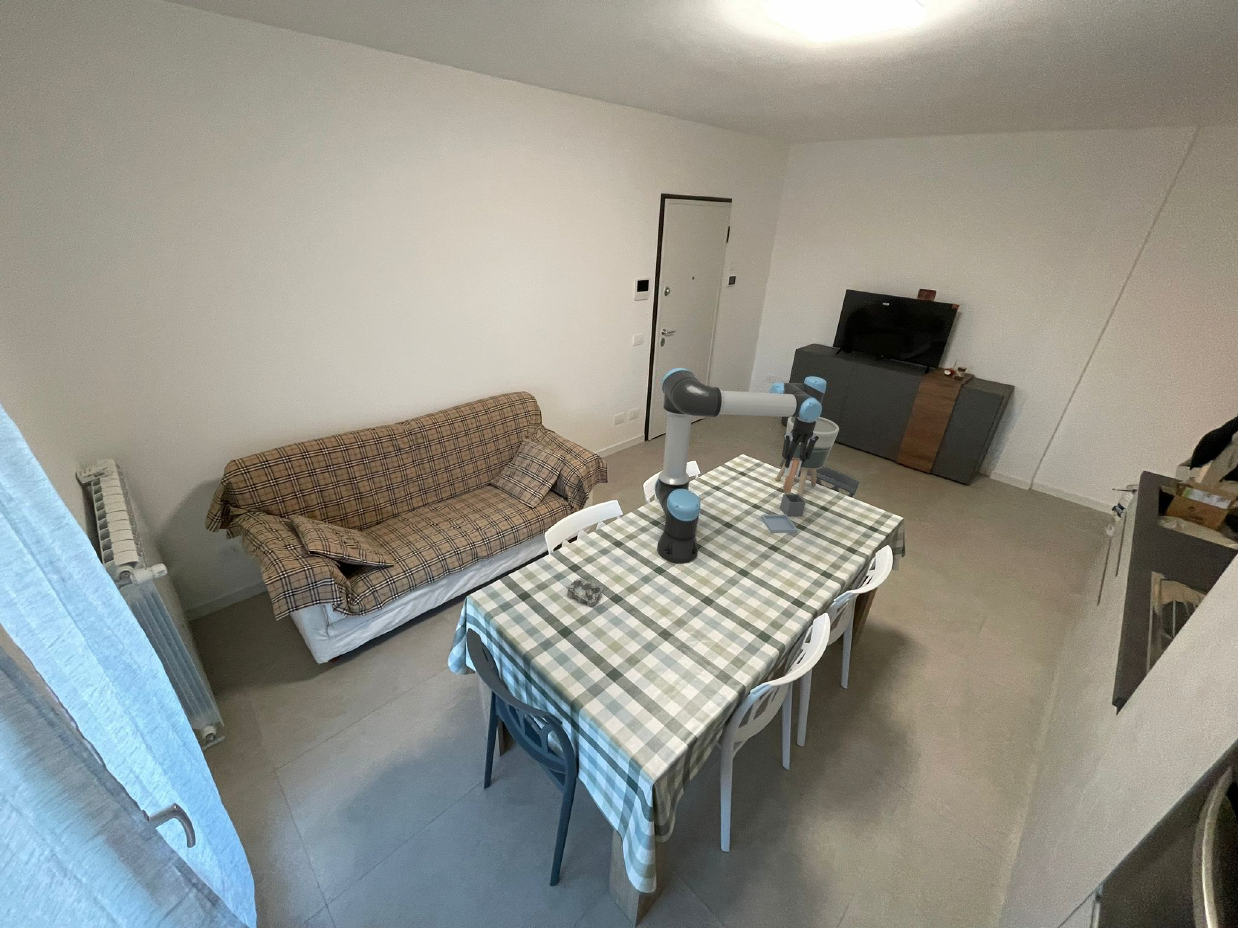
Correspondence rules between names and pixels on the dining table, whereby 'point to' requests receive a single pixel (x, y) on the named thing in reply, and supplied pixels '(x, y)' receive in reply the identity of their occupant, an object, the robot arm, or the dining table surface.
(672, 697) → the dining table surface
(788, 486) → the dowel
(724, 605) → the dining table surface
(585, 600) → the egg carton
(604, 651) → the dining table surface
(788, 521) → the tray
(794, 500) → the pen pot
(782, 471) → the planter
